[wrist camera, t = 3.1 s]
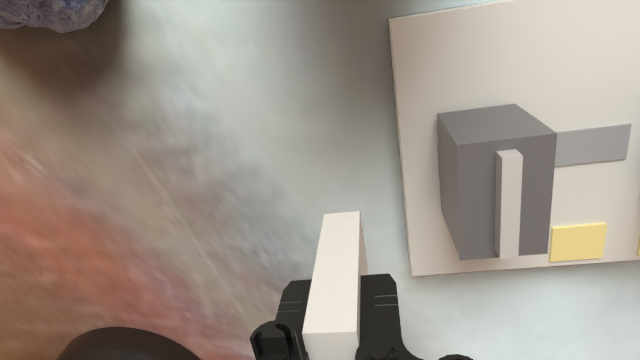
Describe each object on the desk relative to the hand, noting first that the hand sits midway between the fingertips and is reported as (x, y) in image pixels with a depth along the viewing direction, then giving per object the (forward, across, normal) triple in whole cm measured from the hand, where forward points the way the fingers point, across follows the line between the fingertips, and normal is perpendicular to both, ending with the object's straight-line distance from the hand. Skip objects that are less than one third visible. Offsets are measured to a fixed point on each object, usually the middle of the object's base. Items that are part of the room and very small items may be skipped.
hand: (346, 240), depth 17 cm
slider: (+7, +7, 0) cm, 10 cm away
